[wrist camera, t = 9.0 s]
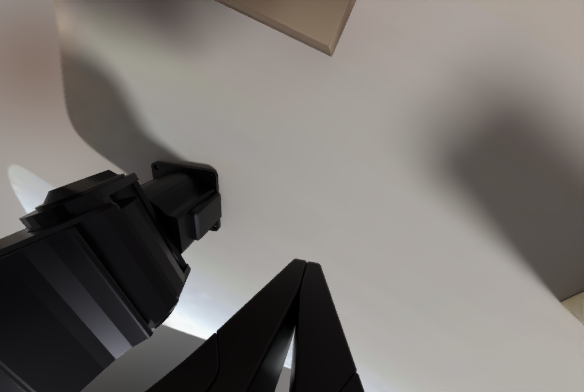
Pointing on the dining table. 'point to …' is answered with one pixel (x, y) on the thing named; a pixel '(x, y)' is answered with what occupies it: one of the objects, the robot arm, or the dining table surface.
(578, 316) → the coffeecake box
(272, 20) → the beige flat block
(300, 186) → the dining table surface
